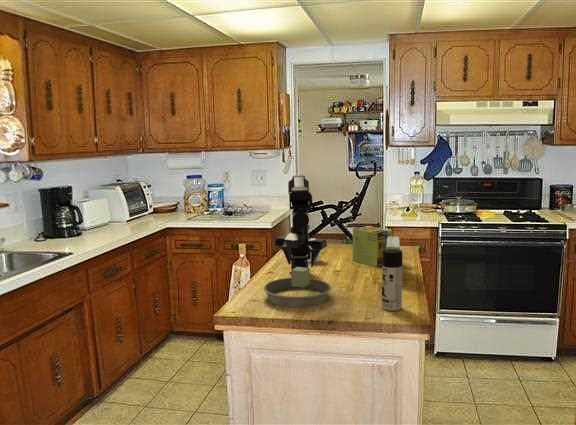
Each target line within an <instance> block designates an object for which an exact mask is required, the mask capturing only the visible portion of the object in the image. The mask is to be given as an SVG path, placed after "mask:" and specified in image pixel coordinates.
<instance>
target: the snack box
mask: <svg viewBox="0 0 576 425" xmlns="http://www.w3.org/2000/svg"><path fill="white" fill-rule="evenodd" d="M400 241H401V240H400V237H399V236H392V237H387V247H386V249H398V250H401V245H400V244H401V243H400Z"/></svg>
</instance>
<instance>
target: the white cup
mask: <svg viewBox="0 0 576 425" xmlns="http://www.w3.org/2000/svg"><path fill="white" fill-rule="evenodd" d="M315 239H316V238H312V237H311V238H310V239H309V240H308V241H312V240H315ZM309 248H310V249H312V248H311V246H309ZM321 251H322V250H320V252H319V254H318V256H317V259H316V261H315V263H319V262H320V261H321ZM306 256H308V255H306ZM307 262H308V263H311V259H309V260H308V259H307Z"/></svg>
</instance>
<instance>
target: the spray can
mask: <svg viewBox="0 0 576 425" xmlns="http://www.w3.org/2000/svg"><path fill="white" fill-rule="evenodd" d="M381 268H382V269H381V308H382V310H384V311H389V312H397V311H400V310H401V309H402V303H403V300H402V298H403V292H402V291H403V251H402V249H400V250H398V249H385V250H383V259H382V265H381Z"/></svg>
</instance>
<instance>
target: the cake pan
mask: <svg viewBox="0 0 576 425" xmlns="http://www.w3.org/2000/svg"><path fill="white" fill-rule="evenodd" d="M294 289H295V290H297V289H298V290H311V291H317V292H319V294H315V295H314V294H313V295H308V296H307V295H306V296H305V295H304V296H288V295H287V296H286V295H280V294H276V293H277V292H281V291H286V290H287V291H288V290H294ZM331 289H332V286H331V284H330V283H329V282H326V281H323V280H321V279H317V278H312V277H310V284H309V285H307V286H306V287H296V286H292V279H291V277H285V278H279V279H274V280H272V281H269V282H267V283H266V284H265V285H264V286H263V290H264V292H265V293H266V295H267V298H268V299H267V300H268V301H269V302H270V303H272V305H273V304H274V305H275V306H281V307H287V308H306V307H312V306H316V305H320V304H321V303H324V302H325V301H326V299H327V296H328V293H329V292H330V291H331Z"/></svg>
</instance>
